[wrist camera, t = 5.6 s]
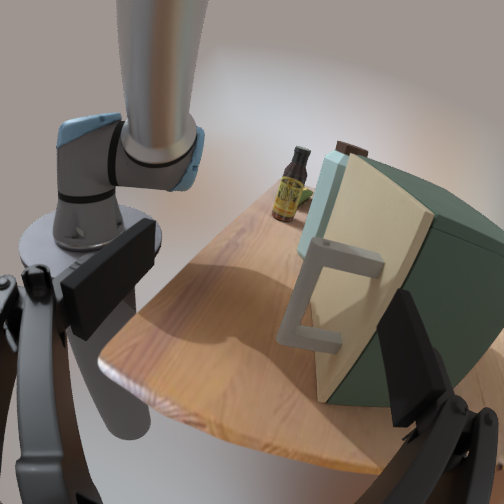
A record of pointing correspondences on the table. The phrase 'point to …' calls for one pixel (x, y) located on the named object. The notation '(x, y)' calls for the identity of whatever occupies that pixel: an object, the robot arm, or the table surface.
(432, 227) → the cupboard
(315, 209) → the water bottle
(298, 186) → the sauce bottle
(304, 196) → the edible corn
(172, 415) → the table surface
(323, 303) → the door
